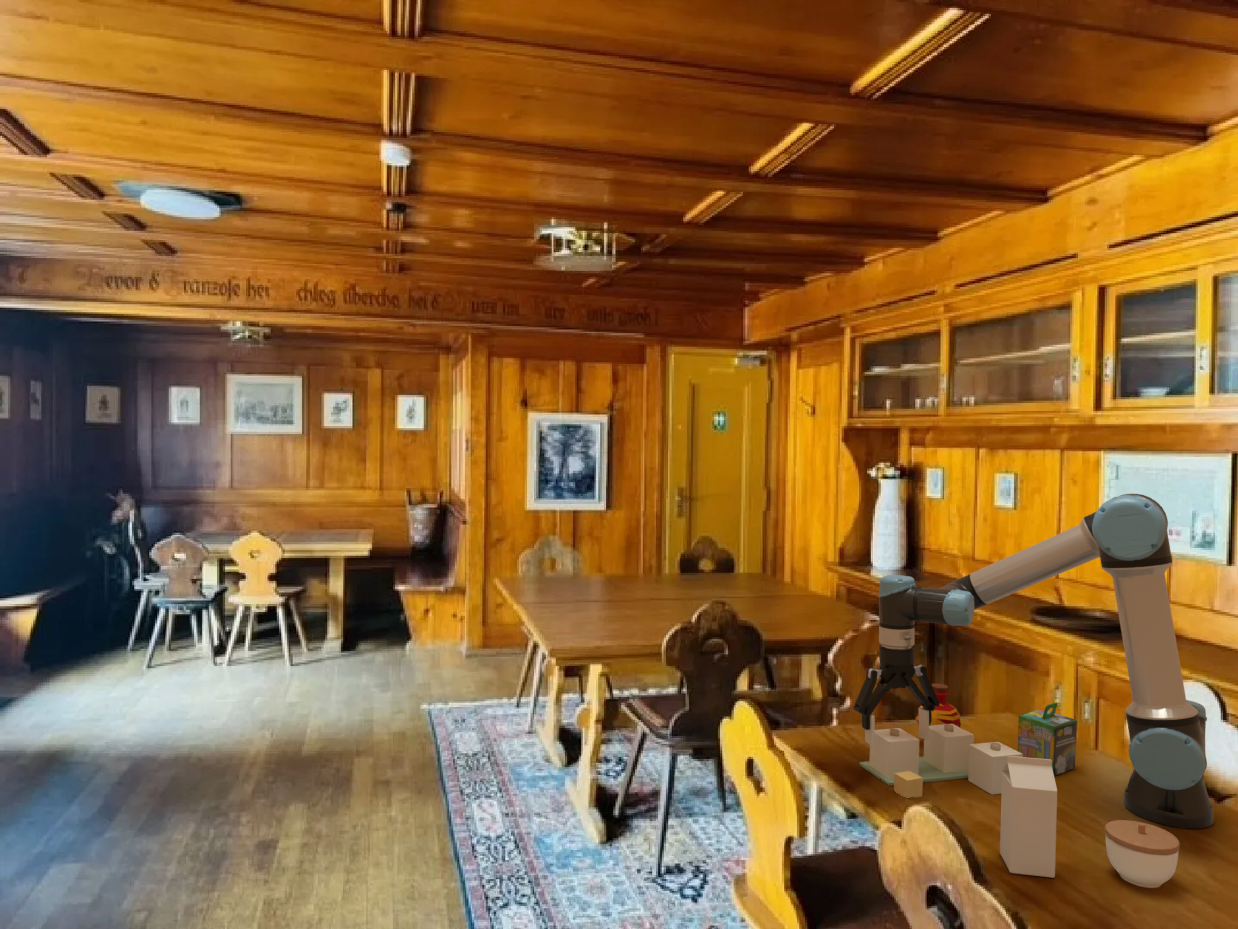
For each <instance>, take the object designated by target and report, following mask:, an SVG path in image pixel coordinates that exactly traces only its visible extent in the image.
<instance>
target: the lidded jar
mask: <svg viewBox="0 0 1238 929" xmlns="http://www.w3.org/2000/svg"><path fill="white" fill-rule="evenodd" d="M1104 833H1105V848H1106V853H1107V858H1108V860H1109V861H1110V864H1111V865H1112V867H1113V868H1114V869H1115V871H1117V873H1118V874H1119V876H1120V878H1121V879H1122V880H1124V881H1125V882H1127V883H1129V884H1131V885H1134V886H1137V887H1140V888H1146V889H1157V888H1160V887H1161V886H1162V884H1165V883H1167V882H1168V881H1169V880H1171V878H1172V877H1173V875H1174V874H1175V873H1176V871H1177V870H1176V869H1177V866H1178V861H1179V851H1180V848H1181V847H1180V846H1181V845H1180V841H1179V839H1178V838H1177V836H1175V835H1174V834H1173V833H1171V832H1169V831H1167V830H1166V829H1163V828H1162V827H1158V826H1156V825H1153V824H1149V823H1146V822H1142V821H1135V820H1127V819H1120V820H1119V819H1116V820H1111V821H1109V822H1107V823H1106V824H1105V825H1104Z"/></svg>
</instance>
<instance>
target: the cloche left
mask: <svg viewBox="0 0 1238 929" xmlns="http://www.w3.org/2000/svg"><path fill="white" fill-rule="evenodd" d="M919 757H920V738H917V737H916V736H915V735H913V734H910V733H909V732H907V731H905V730H904V729H902V728H900V727H898V728H897V727H895V728H886V729H885V728H884V729H875V746H871V745H869V761H870V766H871V767H872V768H874V769H875V770H877V771H878V772H880V773H881V774H883V775H884V776H885V777H887V778H894V773H899V772H905V771H911V772H913V773H915V774H916V775H918V773H919Z"/></svg>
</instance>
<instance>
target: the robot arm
mask: <svg viewBox="0 0 1238 929" xmlns="http://www.w3.org/2000/svg"><path fill="white" fill-rule="evenodd" d="M1168 525H1169V521H1168V516H1167V514H1166V512H1165V510H1164V508H1163V507H1162V506H1161V504H1160V503H1159V502H1157V501H1156V500H1154V499H1152V498H1151V497H1150V496H1147V495H1145V494H1139V493H1125V494H1121V495H1118V496H1114V497H1112V498H1110V499H1108V500H1107V501H1104V503H1102V504H1101V505H1100V506H1099V508H1097V510H1096V511H1094V512H1092V513H1091V514H1088V515H1086V516H1083V517H1082V519H1081V521H1080V524H1078V525H1075V526H1073V527H1072V528H1069V529H1067V530H1065V531H1062V532H1060V533H1058V534H1055V535H1053V536H1051V537H1048V538H1047V539H1044V540H1043V541H1040V542H1038V543H1036V544H1034V545H1031V546H1029V547H1027V548H1025V549H1023V550H1020V551H1017V552H1016V553H1013V554H1011V555H1008V556H1007V557H1005V558H1002V559H1001V560H998V561H996V562H994V563H990V564H989V565H987V566H985V567H983V568H980V569H978V570H976V571H973V572H971V573H970V574H967V575H965V576H963V577H960V578H957V579H955V580H952V581H949V582H948V583H946V584H945V585H943V586H941V587H939V588H935V587H924V586H922V587H921V586H918V585H916V582H915V578H913V577H912V576H909V575H903V574H902V575H900V574H891V575H889V574H888V575H884V576H882V577H880V580H879V586H878V587H879V589H878V618H879V619H878V620H879V622H878V625H879V626H878V628H879V629H878V643H879V644H880V645H879V647H878V661H879V664H880V665H879V668H878V669H874V668H871V667H868V668H867V669H866V674H865V680H864V682H863V684H862V687H861V689H860V691H859V694H858V696H857V697H856V700H855V702H854V705H853V710H854V711H855V712H857V713H859V714H861V727H862V728H863V730H864V741H865V743H867V744H868V745H869V746H870V745H871V746H875V730H876V728H875V726H876V725H875V724H876V722H875V720H876V719H875V717H876V716H875V715H873V714H872V713H874V711H875V710H876V708H877V707H878V705H879V704H880V702H881V701H882V700H883V698H884V697H885V695H886V694H887V693H889V692H890V690H891V689H893V690H896V689H899V688H900V689H906V688H907V689H908V690H909V692H910V693H911V694H912V696H913V697H914V698H915V699H916V700H917V701H918V703H919V704H920V706H923V708H922V707H920V706H919V707H918V709H919V726H918V737H919V738H921V739H923V740H924V739H925V740H929V724H931V721H932V719H931V718H932V711H934V710H935V706H937V707H938V706H939V705H940V702H939V700H938V698H937V696H936V693H935V691H934V689H933V687H932V685H931V684H932V683H931V681H930V679H929V676H928V668H927V667H926V666H924V665H922V664H919V663H917V664H916V665H915V663H916V660H915V658H916V651H915V650H916V649H915V648H914V647H913V646H914V645H916V644H915V627H916V625H915V622H920V623H923V622H924V623H930V624H940V625H947V626H951V627H956V626H957V627H958V626H960V627H961V626H962V627H968V626H970V625H971V624H972V623H973V619H974V618H975V610H978V609H980V608H982V607H985V606H987V605H989V604H991V603H994V602H996V601H999V600H1001V599H1003V598H1005V597H1008V596H1010V595H1012V594H1015V593H1018V592H1019V591H1022V590H1024V589H1028V588H1029V587H1032V586H1034V585H1037V584H1039V583H1041V582H1043V581H1046V580H1048V579H1050V578H1053V577H1056V576H1058V575H1060V574H1063V573H1065V572H1067V571H1070V570H1072V569H1074V568H1075V569H1076V568H1077V567H1079V566H1082V565H1084V564H1086V563H1090V562H1091V561H1093V560H1096V559H1098V558H1099V559H1100V564H1101V566H1100V567H1101V569H1102V570H1103V571H1104V572H1106V573H1108V574H1109V575H1110V576H1111V578H1112V584H1113V589H1114V595H1115V602H1116V606H1117V614H1118V618H1119V625H1120V631H1121V638H1122V643H1123V649H1124V654H1125V660H1126V666H1127V674H1128V680H1129V685H1130V690H1131V698H1132V701H1131V702H1130V704H1128V706H1127V707H1126V708H1125V717H1126V723H1127V731H1128V734H1129V746H1128V757H1129V760H1130V762H1131V764H1132V767H1133V768H1134V769H1133V771H1132V773H1131V776H1130V778H1129V780H1128V783H1127V786H1126V787H1125V790H1124V792H1123V805H1124V807H1125V808H1126V809H1128V811H1130V812H1131V813H1133V814H1135V815H1136V816H1138V817H1140V818H1142V819H1146V820H1149V821H1150V822H1154V823H1158V824H1161V825H1164V826H1165V825H1166V826H1170V827H1175V828H1182V829H1204V828H1209V827H1211V826H1212V825H1213V824H1214V818H1215V817H1214V807H1213V805H1212V804H1211V801H1210V797H1209V794H1208V792H1207V791H1208V790H1207V787H1206V784H1205V772H1206V770H1207V767H1208V760H1207V757H1206V756H1207V755H1206V754H1207V753H1206V722H1207V721H1208V717H1207V714H1206V712H1207V711H1206V708H1205V706H1204V705H1203V704H1201V703H1199V702H1196V701H1192V700H1188V699H1187V697H1186V690H1185V687H1184V686H1185V685H1184V680H1183V678H1184V677H1183V673H1182V668H1181V663H1180V656H1179V655H1180V654H1179V650H1178V644H1177V639H1176V638H1177V637H1176V631H1175V626H1174V622H1173V621H1174V620H1173V615H1172V608H1171V603H1170V598H1169V592H1168V591H1169V590H1168V587H1167V586H1168V585H1167V579H1166V571H1167V570H1168V569H1169V568H1171V566H1172V565H1173V564H1174V563H1173V557H1172V553H1171V551H1172V550H1171V545H1170V540H1169V534H1168V527H1169V526H1168ZM914 665H915V666H914ZM915 675H916V677H917V679H918V682H919V684H920V686H921V688H922V690H923V691H921V689H920V688H919V687H918V684H917V683H916V682H915V681H914V679H913V678H914V676H915ZM875 686H876V687H875Z"/></svg>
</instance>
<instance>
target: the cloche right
mask: <svg viewBox="0 0 1238 929" xmlns="http://www.w3.org/2000/svg"><path fill="white" fill-rule="evenodd" d="M1008 756H1014V757H1023V754H1022V753H1020V752H1018V750H1016V749H1013V748H1011V747H1010V746H1007V745H1005V744H1004V743H1002V742H1000V741H993V742H992V741H990V742H981V743H974V744H969V768H968V778H967V781H969V782H970V783H972V785H975V786H977V787H979V788H980V789H981V790H983V791H984V792H987V793H988V794H990V795H999V794H1000V795H1002V771H1003V769H1004V767H1005V765H1006V764H1007V757H1008Z"/></svg>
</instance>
